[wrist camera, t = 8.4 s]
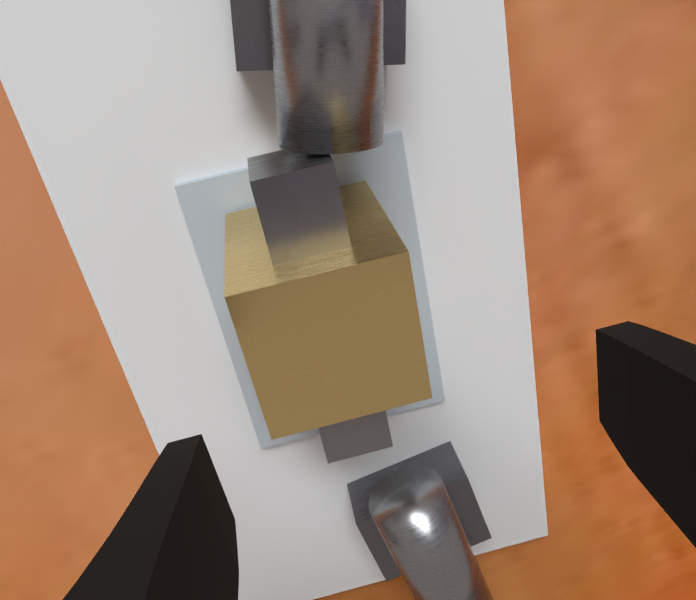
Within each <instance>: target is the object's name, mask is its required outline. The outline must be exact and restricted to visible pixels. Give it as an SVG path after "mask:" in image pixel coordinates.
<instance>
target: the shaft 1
mask: <svg viewBox="0 0 696 600" xmlns="http://www.w3.org/2000/svg"><path fill="white" fill-rule="evenodd" d="M230 7H231V17H232V28H233V39H234V50H235V60H236V71H260V70H273V72H274V86H275V101H276V115H277V129H278V144H279V147H280V148H282V149H284V150H287V151H291V152H296V153H304V154H345V153H354V152H361V151H366V150H370V149H374V148H376V147H379V146H381V145H382V144H383V143H384V65H403V64H405V54H406V0H230Z"/></svg>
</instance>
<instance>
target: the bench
mask: <svg viewBox="0 0 696 600" xmlns="http://www.w3.org/2000/svg"><path fill="white" fill-rule="evenodd" d="M0 80H1V82H2V84H3V87H4V89H5V92H6V94H7V96H8V99H9V101H10V103H11V106H12V108H13V110H14V113H15V115H16V118H17V120H18V122H19V125H20V127H21V129H22V132H23V134H24V137H25V139H26V141H27V144H28V146H29V148H30V151H31V153H32V155H33V158H34V160H35V163H36V165H37V167H38V170H39V172H40V174H41V177H42V179H43V182H44V184H45V186H46V189H47V191H48V193H49V196H50V198H51V200H52V203H53V205H54V208H55V210H56V212H57V215H58V217H59V219H60V222H61V224H62V226H63V229H64V231H65V234H66V236H67V238H68V241H69V243H70V245H71V248H72V250H73V253H74V255H75V257H76V260H77V262H78V264H79V267H80V269H81V271H82V274H83V276H84V279H85V281H86V283H87V286H88V288H89V290H90V293H91V295H92V298H93V300H94V302H95V305H96V307H97V309H98V312H99V314H100V316H101V319H102V321H103V324H104V326H105V328H106V331H107V333H108V335H109V338H110V340H111V342H112V345H113V347H114V350H115V352H116V354H117V357H118V359H119V361H120V364H121V366H122V369H123V371H124V373H125V376H126V378H127V380H128V383H129V385H130V387H131V390H132V392H133V395H134V397H135V399H136V402H137V404H138V406H139V409H140V411H141V414H142V416H143V418H144V421H145V423H146V425H147V428H148V430H149V432H150V435H151V437H152V440H153V442H154V444H155V447H156V449H157V451H158V454H159V455H160V454H161V452H162V451H163V449H164V448H165V446H166V445H167V443H169V442H173V441H177V440H181V439H185V438H188V437H192V436H196V435H200V434H202V436H203V439H204V441H205V444H206V447H207V449H208V452H209V454H210V457H211V459H212V462H213V464H214V467H215V470H216V472H217V475H218V477H219V480H220V482H221V485H222V487H223V490H224V492H225V495H226V498H227V500H228V503H229V505H230V508H231V510H232V513H233V515H234V518H235V525H236V537H237V549H238V564H239V589H238V600H314V599H317V598H321V597H325V596H328V595H332V594H336V593H339V592H343V591H347V590H350V589H354V588H357V587H361V586H365V585H368V584H372V583H376V582H379V581H383V580H385V578H384V576H383V574H382V572H381V570H380V568H379V567H378V565H377V563H376V561H375V559H374V557H373V555H372V553H371V552H370V550H369V548H368V546H367V544H366V542H365V540H364V538H363V537H362V535H361V533H360V531H359V529H358V527H357V525H356V522H355V518H354V513H353V509H352V504H351V500H350V495H349V491H348V486H347V484H348V483H350V482H352V481H355V480H357V479H360V478H362V477H365V476H367V475H369V474H372V473H374V472H377V471H379V470H381V469H384V468H386V467H389V466H391V465H393V464H396V463H398V462H401V461H403V460H405V459H408V458H410V457H413V456H415V455H417V454H420V453H422V452H425V451H427V450H429V449H432V448H434V447H437V446H439V445H441V444H444V443H446V442H449V441H450V442H451V444H452V446H453V448H454V450H455V452H456V454H457V456H458V458H459V460H460V463H461V465H462V467H463V469H464V471H465V473H466V475H467V477H468V480H469V482H470V485H471V487H472V490H473V492H474V495H475V497H476V500H477V502H478V505H479V507H480V510H481V512H482V515H483V517H484V520H485V522H486V525H487V527H488V530H489V532H490V535H491V537H492V538H491V539H488V540H486V541H483V542H481V543H478V544H476V545H474V546H471V549H472V551H473V554H474V556H475V555H478V554H482V553H485V552H489V551H493V550H496V549H500V548H504V547H507V546H511V545H515V544H518V543H522V542H526V541H529V540H533V539H537V538H540V537H544V536H548V529H547V517H546V505H545V493H544V481H543V469H542V457H541V445H540V433H539V421H538V409H537V397H536V384H535V372H534V360H533V348H532V336H531V324H530V312H529V300H528V288H527V276H526V264H525V252H524V240H523V228H522V216H521V204H520V192H519V179H518V167H517V155H516V143H515V131H514V119H513V107H512V95H511V83H510V71H509V59H508V47H507V35H506V23H505V11H504V0H406V54H405V64H403V65H384V143H383V144H382V145H381V146H379V147H376V148H374V149H370V150H366V151H361V152H354V153H345V154H330V155H331V157H332V159H333V161H334V166H335V170H336V175H337V180H338V185H339V186H343V185H347V184H352V183H356V182H360V181H364V180H366V182H367V184H368V185H369V187H370V189H371V190H372V192H373V194H374V195H375V197H376V198H377V200H378V202H379V203H380V205H381V207H382V208H383V210H384V212H385V213H386V215H387V217H388V218H389V220H390V221H391V223H392V225H393V226H394V228H395V230H396V231H397V233H398V235H399V236H400V238H401V240H402V241H403V243H404V244H405V246H406V248H407V249H408V251H409V256H410V262H411V269H412V275H413V281H414V287H415V293H416V300H417V306H418V312H419V318H420V324H421V331H422V337H423V343H424V349H425V356H426V362H427V368H428V374H429V380H430V387H431V393H432V398H431V399H427V400H423V401H420V402H416V403H412V404H408V405H404V406H400V407H397V408H393V409H389V410H386V415H387V420H388V424H389V429H390V434H391V439H392V444H393V447H389V448H386V449H382V450H378V451H374V452H370V453H367V454H363V455H359V456H355V457H351V458H348V459H344V460H340V461H336V462H332V463H329V464H328V462H327V458H326V454H325V451H324V447H323V444H322V440H321V437H320V433H319V429H318V428H316V429H312V430H308V431H304V432H300V433H297V434H293V435H289V436H285V437H281V438H277V439H274V440H271V437H270V434H269V431H268V428H267V425H266V422H265V419H264V416H263V413H262V410H261V407H260V404H259V401H258V398H257V395H256V392H255V389H254V385H253V382H252V379H251V376H250V373H249V370H248V367H247V364H246V361H245V358H244V355H243V352H242V349H241V346H240V343H239V340H238V337H237V334H236V331H235V328H234V325H233V322H232V319H231V316H230V313H229V310H228V307H227V303H226V300H225V297H224V290H225V214H227V213H232V212H236V211H240V210H244V209H248V208H252V207H256V204H255V200H254V197H253V193H252V189H251V186H250V182H249V172H248V162H247V158H250V157H254V156H258V155H262V154H267V153H271V152H275V151H279V150H283V149H282V148H280V147H279V144H278V129H277V115H276V101H275V86H274V72H273V70H260V71H236V60H235V50H234V39H233V28H232V17H231V7H230V0H0Z"/></svg>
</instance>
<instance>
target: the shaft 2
mask: <svg viewBox="0 0 696 600" xmlns="http://www.w3.org/2000/svg"><path fill="white" fill-rule="evenodd" d="M347 486H348V491H349V495H350V500H351V504H352V509H353V513H354V518H355V522H356V525H357V527H358V529H359V531H360V533H361V535H362V537H363V538H364V540H365V542H366V544H367V546H368V548H369V550H370V552H371V553H372V555H373V557H374V559H375V561H376V563H377V565H378V567H379V568H380V570H381V572H382V574H383V576H384V578H385V580H386V581H388V580H391V579H393V578H396V577H398V576H401V575H402V576H403V578H404V580H405V582H406V584H407V586H408V588H409V590H410V592H411V594H412V596H413V598H414V600H493V598H492V596H491V593H490V591H489V589H488V586H487V584H486V582H485V579H484V577H483V575H482V572H481V570H480V568H479V565H478V563H477V561H476V558H475V556H474V554H473V551H472V549H471V546H474V545H476V544H478V543H481V542H483V541H486V540H488V539H491V538H492V537H491V535H490V532H489V530H488V527H487V525H486V522H485V520H484V517H483V515H482V512H481V510H480V507H479V505H478V502H477V500H476V497H475V495H474V492H473V490H472V487H471V485H470V482H469V480H468V477H467V475H466V473H465V471H464V469H463V467H462V465H461V463H460V460H459V458H458V456H457V454H456V452H455V450H454V448H453V446H452V444H451V442H450V441H449V442H446V443H444V444H441V445H439V446H437V447H434V448H432V449H429V450H427V451H425V452H422V453H420V454H417V455H415V456H413V457H410V458H408V459H405V460H403V461H401V462H398V463H396V464H393V465H391V466H389V467H386V468H384V469H381V470H379V471H377V472H374V473H372V474H369V475H367V476H365V477H362V478H360V479H357V480H355V481H352V482H350V483H348V484H347Z"/></svg>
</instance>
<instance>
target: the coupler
mask: <svg viewBox="0 0 696 600" xmlns="http://www.w3.org/2000/svg"><path fill="white" fill-rule="evenodd" d="M247 162H248V172H249V182H250V186H251V189H252V193H253V197H254V200H255V204H256V207H252V208H248V209H244V210H240V211H236V212H232V213H227V214H225V290H224V297H225V300H226V303H227V307H228V310H229V313H230V316H231V319H232V322H233V325H234V328H235V331H236V334H237V337H238V340H239V343H240V346H241V349H242V352H243V355H244V358H245V361H246V364H247V367H248V370H249V373H250V376H251V379H252V382H253V385H254V389H255V392H256V395H257V398H258V401H259V404H260V407H261V410H262V413H263V416H264V419H265V422H266V425H267V428H268V431H269V434H270V437H271V440H274V439H277V438H281V437H285V436H289V435H293V434H297V433H300V432H304V431H308V430H312V429H316V428H318V429H319V433H320V437H321V440H322V444H323V447H324V451H325V454H326V458H327V462H328V464H329V463H332V462H336V461H340V460H344V459H348V458H351V457H355V456H359V455H363V454H367V453H370V452H374V451H378V450H382V449H386V448H389V447H393V444H392V439H391V434H390V429H389V424H388V420H387V415H386V410H389V409H393V408H397V407H400V406H404V405H408V404H412V403H416V402H420V401H423V400H427V399H431V398H432V393H431V387H430V380H429V374H428V368H427V362H426V356H425V349H424V343H423V337H422V331H421V324H420V318H419V312H418V306H417V300H416V293H415V287H414V281H413V275H412V269H411V262H410V256H409V251H408V249H407V248H406V246H405V244H404V243H403V241H402V240H401V238H400V236H399V235H398V233H397V231H396V230H395V228H394V226H393V225H392V223H391V221H390V220H389V218H388V217H387V215H386V213H385V212H384V210H383V208H382V207H381V205H380V203H379V202H378V200H377V198H376V197H375V195H374V194H373V192H372V190H371V189H370V187H369V185H368V184H367V182H366V180H364V181H360V182H356V183H352V184H347V185H343V186H339V185H338V180H337V175H336V170H335V166H334V161H333V159H332V157H331V155H330V154H304V153H296V152H291V151H287V150H284V149H283V150H279V151H275V152H271V153H267V154H262V155H258V156H254V157H250V158H247Z"/></svg>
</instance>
